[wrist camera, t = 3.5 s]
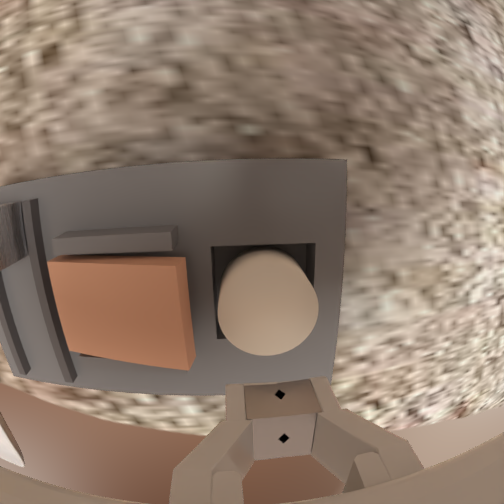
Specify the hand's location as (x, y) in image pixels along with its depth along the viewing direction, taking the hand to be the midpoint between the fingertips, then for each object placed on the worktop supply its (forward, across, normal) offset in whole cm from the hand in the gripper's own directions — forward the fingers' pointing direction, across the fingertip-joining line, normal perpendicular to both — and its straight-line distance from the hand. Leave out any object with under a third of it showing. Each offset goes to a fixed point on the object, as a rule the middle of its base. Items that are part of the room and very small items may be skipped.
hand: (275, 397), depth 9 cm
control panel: (+11, +6, 0) cm, 13 cm away
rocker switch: (+6, +7, 0) cm, 9 cm away
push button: (+8, 0, -1) cm, 8 cm away
